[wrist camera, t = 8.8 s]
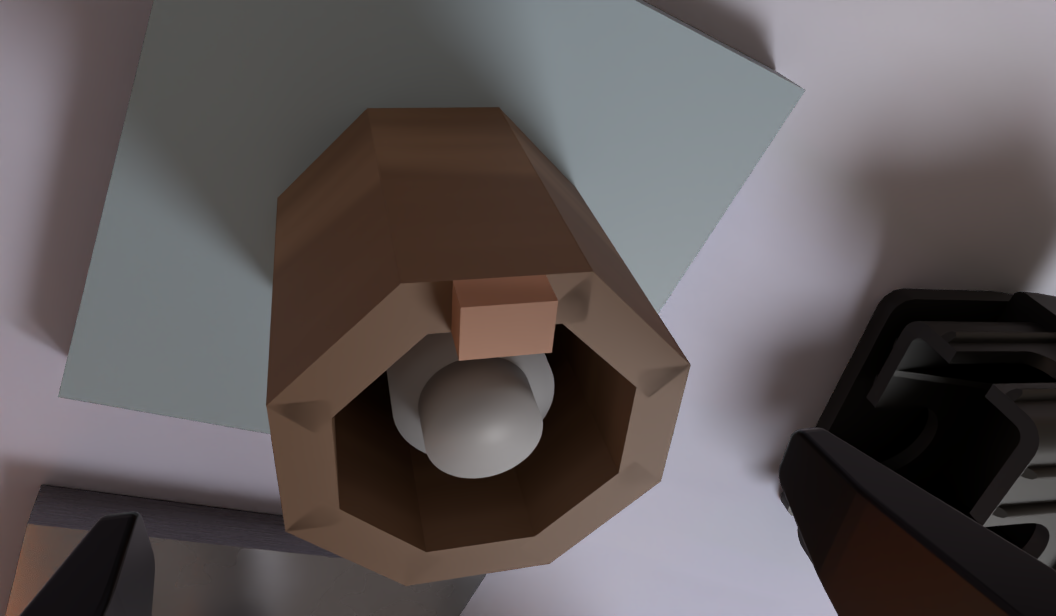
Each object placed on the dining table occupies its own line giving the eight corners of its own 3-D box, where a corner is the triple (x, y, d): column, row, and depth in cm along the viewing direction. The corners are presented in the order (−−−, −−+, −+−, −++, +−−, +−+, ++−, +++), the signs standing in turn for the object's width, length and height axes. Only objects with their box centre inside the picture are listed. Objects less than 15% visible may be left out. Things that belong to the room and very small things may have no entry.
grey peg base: (536, 451, 22) (614, 681, 17) (71, 361, 17) (-41, 651, 11) (777, 71, 17) (1006, 221, 11) (215, -227, 12) (138, -216, 6)
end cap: (929, 500, 29) (1072, 667, 24) (769, 512, 27) (885, 697, 22) (1078, 278, 24) (1304, 428, 18) (891, 272, 22) (1086, 439, 16)
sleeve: (556, 347, 18) (656, 577, 13) (297, 369, 17) (296, 636, 12) (586, 106, 15) (736, 287, 10) (266, 108, 14) (245, 322, 8)
